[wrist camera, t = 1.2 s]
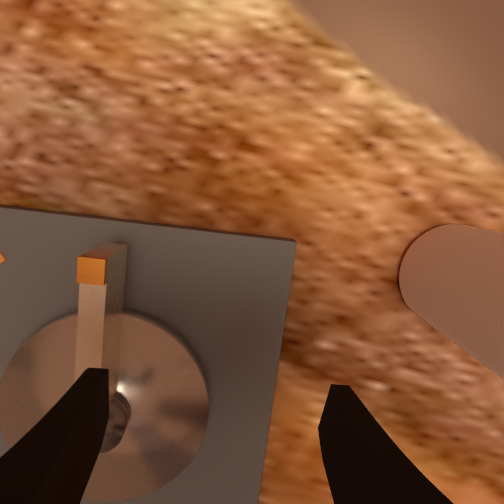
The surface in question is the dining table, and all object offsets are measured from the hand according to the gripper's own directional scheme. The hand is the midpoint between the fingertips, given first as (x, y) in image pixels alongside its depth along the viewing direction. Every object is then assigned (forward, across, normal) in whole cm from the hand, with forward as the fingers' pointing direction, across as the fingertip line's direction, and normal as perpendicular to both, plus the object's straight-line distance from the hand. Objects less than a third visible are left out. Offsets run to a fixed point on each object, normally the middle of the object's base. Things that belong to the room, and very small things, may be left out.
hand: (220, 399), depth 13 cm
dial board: (+10, +6, +9) cm, 15 cm away
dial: (+9, +6, +8) cm, 13 cm away
